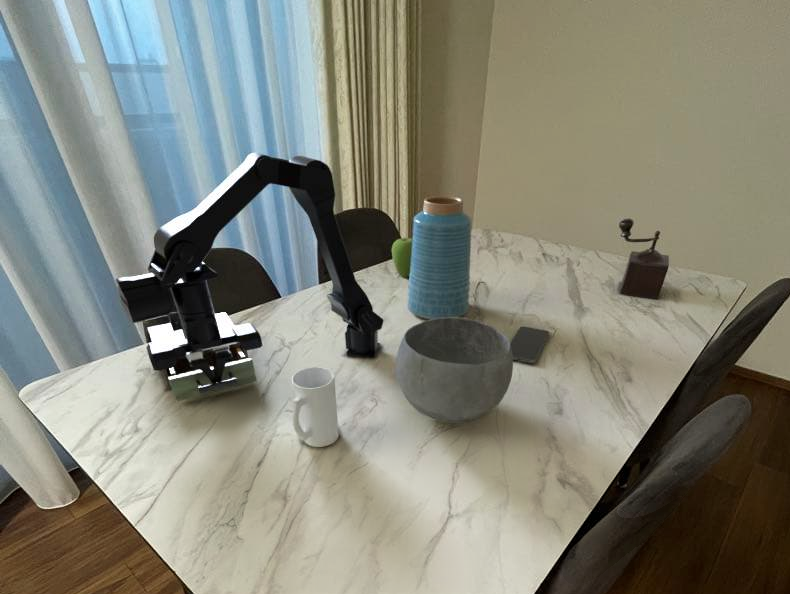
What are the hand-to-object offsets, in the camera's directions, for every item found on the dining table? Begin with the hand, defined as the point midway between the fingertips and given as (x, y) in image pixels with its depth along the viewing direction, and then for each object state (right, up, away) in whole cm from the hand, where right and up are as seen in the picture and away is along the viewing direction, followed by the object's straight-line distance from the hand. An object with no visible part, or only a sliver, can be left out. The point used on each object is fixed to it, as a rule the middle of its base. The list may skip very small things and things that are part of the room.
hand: (217, 386), depth 89 cm
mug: (+20, -11, -8) cm, 24 cm away
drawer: (-4, +2, +6) cm, 8 cm away
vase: (+45, +25, +36) cm, 63 cm away
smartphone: (+64, +12, +20) cm, 68 cm away
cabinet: (-9, +7, +13) cm, 17 cm away
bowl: (+44, -5, 0) cm, 45 cm away
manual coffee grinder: (+102, +35, +49) cm, 119 cm away
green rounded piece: (+36, +41, +56) cm, 78 cm away
